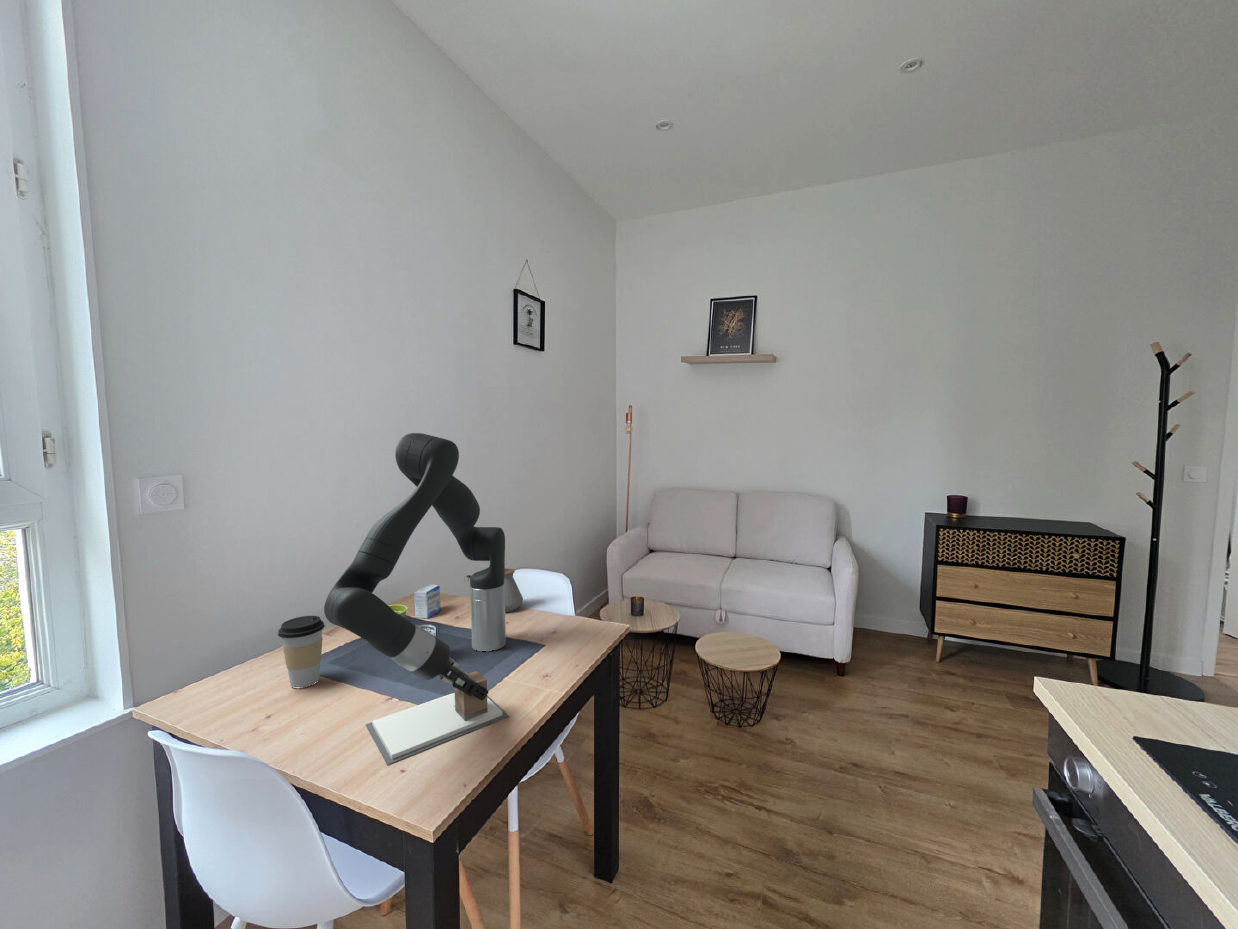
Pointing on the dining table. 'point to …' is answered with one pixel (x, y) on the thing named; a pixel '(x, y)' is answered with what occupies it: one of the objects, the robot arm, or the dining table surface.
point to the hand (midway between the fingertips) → (479, 690)
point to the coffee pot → (510, 591)
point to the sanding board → (426, 727)
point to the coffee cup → (302, 649)
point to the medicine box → (427, 601)
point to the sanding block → (471, 700)
